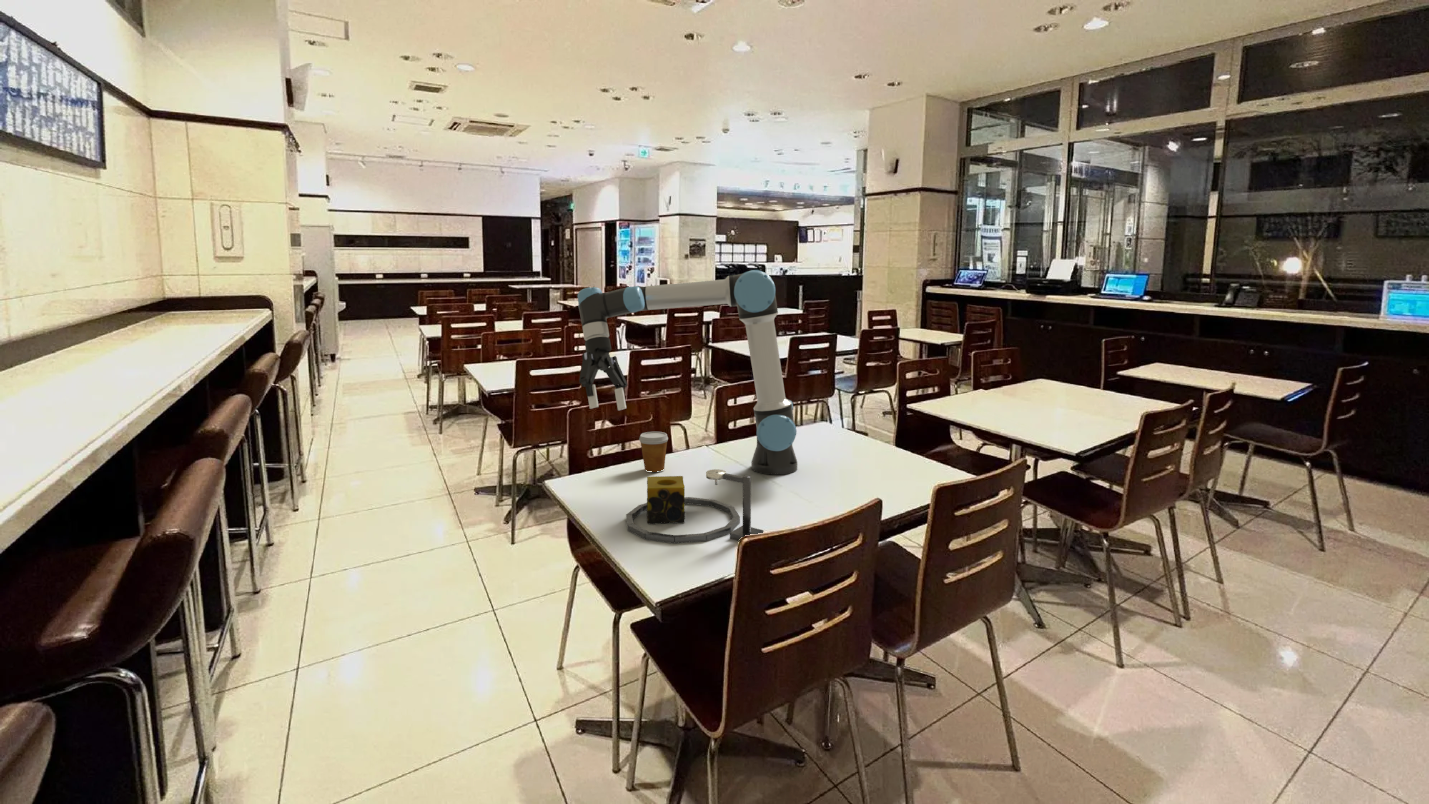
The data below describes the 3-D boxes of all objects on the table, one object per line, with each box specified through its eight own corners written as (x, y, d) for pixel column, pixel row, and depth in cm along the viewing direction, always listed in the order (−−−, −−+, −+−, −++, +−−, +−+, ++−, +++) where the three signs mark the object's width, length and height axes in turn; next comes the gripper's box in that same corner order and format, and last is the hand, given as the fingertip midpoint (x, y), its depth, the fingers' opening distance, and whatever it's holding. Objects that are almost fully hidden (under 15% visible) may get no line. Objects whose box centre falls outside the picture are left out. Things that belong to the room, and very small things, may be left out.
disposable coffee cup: (671, 466, 230) (670, 431, 228) (666, 474, 221) (665, 438, 218) (643, 465, 231) (642, 431, 229) (637, 474, 222) (636, 438, 219)
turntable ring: (726, 499, 196) (726, 494, 196) (749, 537, 168) (749, 532, 168) (624, 506, 191) (624, 501, 191) (630, 547, 163) (630, 541, 163)
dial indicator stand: (763, 535, 170) (763, 475, 167) (750, 543, 165) (750, 481, 162) (715, 524, 178) (714, 466, 175) (701, 531, 173) (700, 472, 170)
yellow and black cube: (647, 511, 188) (646, 476, 186) (684, 510, 189) (683, 475, 187) (646, 525, 178) (645, 488, 176) (685, 523, 179) (685, 486, 177)
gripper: (612, 347, 218) (623, 412, 215) (559, 337, 196) (571, 409, 193) (631, 341, 215) (642, 407, 211) (580, 330, 193) (592, 403, 189)
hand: (608, 408), depth 202 cm, fingers open, 13 cm apart
